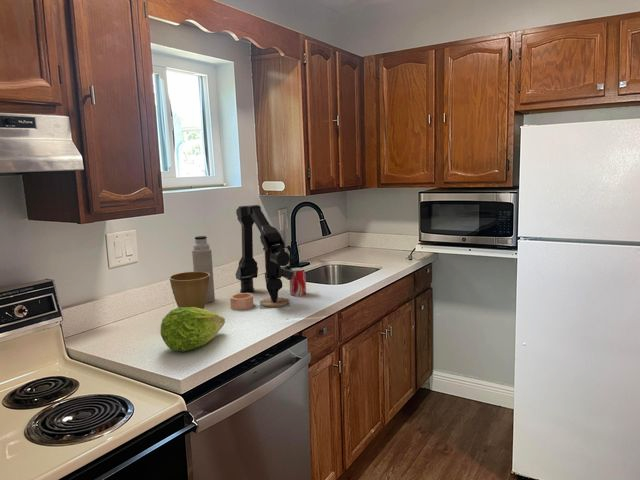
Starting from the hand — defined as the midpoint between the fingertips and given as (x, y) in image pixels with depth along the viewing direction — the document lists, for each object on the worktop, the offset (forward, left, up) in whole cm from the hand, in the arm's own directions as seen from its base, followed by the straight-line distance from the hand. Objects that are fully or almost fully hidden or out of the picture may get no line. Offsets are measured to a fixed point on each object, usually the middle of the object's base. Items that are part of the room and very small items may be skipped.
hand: (274, 299), depth 194 cm
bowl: (0, -13, -2) cm, 13 cm away
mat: (0, 0, -2) cm, 2 cm away
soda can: (-12, +11, -3) cm, 17 cm away
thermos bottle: (-16, -29, -3) cm, 33 cm away
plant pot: (+5, -32, -3) cm, 33 cm away
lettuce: (+36, -27, -3) cm, 45 cm away
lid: (0, 0, -2) cm, 2 cm away
